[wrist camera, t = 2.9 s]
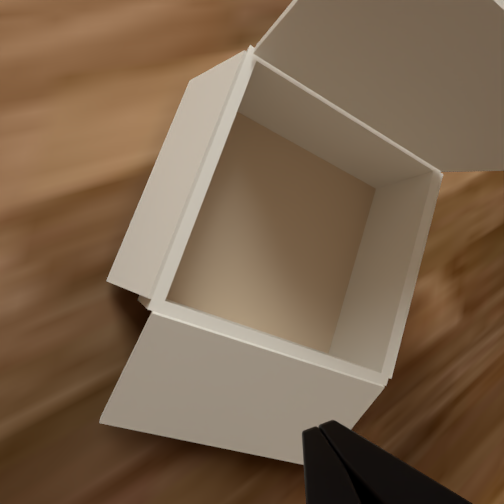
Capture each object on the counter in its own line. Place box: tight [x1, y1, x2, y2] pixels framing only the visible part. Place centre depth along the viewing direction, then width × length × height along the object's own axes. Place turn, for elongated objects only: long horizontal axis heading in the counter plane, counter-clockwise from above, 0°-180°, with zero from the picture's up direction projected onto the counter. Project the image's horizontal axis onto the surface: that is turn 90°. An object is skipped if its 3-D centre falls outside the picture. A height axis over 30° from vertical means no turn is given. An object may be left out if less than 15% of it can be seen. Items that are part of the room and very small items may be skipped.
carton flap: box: [253, 0, 504, 172], centre depth 13 cm, size 1×12×9 cm, turn 70°
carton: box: [99, 45, 443, 465], centre depth 18 cm, size 17×15×5 cm
